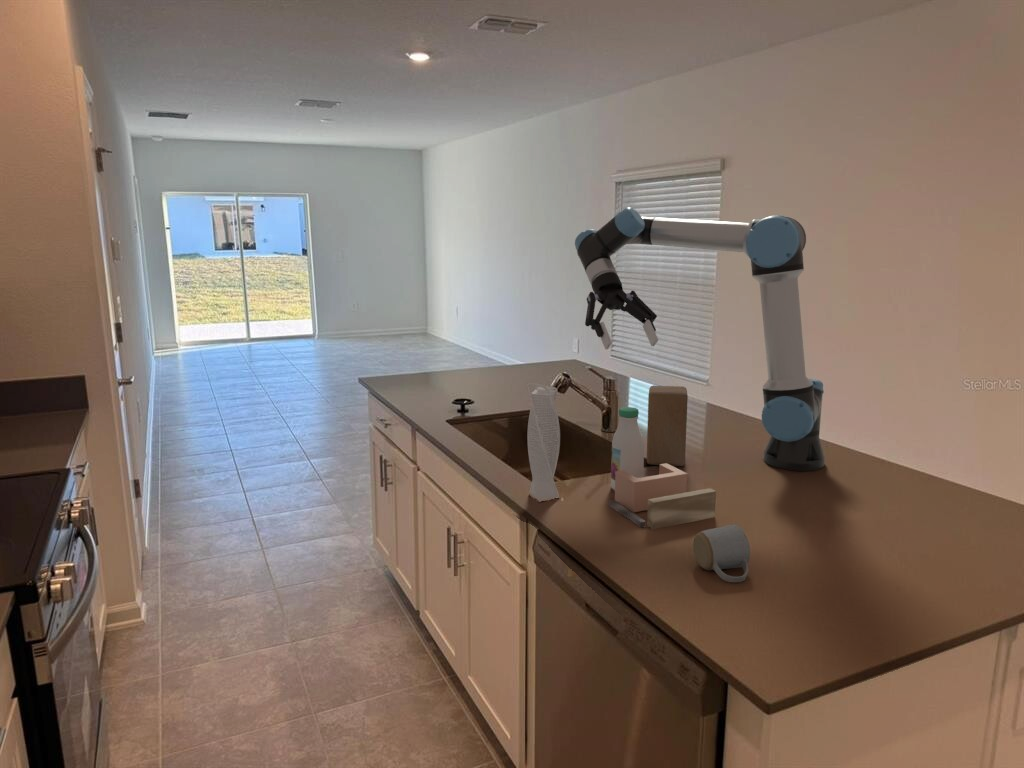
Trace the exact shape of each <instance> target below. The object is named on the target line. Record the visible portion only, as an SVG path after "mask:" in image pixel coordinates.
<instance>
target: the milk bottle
mask: <svg viewBox="0 0 1024 768" xmlns="http://www.w3.org/2000/svg"><path fill="white" fill-rule="evenodd" d="M618 418H619V422H618V426H617V428H616V430H615V432H614V435H613V438H612V442H611V461H610V462H611V465H610V467H611V468H610V487H611V489H612V490H613V491H615V471H621V470H623V471H625V472H627V473H629V474H630V475H632V476H634V477H636V478H642V477H644V472H645V471H644V470H645V469H644V465H645V464H644V463H645V462H644V461H645V443H644V442H645V441H644V437H643V435H642V432H641V429H640V426H639V423H638V419H639V409H638V408H636V407H632V406H631V407H630V406H625V407H620V408H619V409H618Z"/></svg>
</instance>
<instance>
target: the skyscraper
mask: <svg viewBox="0 0 1024 768" xmlns="http://www.w3.org/2000/svg"><path fill="white" fill-rule="evenodd" d="M530 386H535V387H534V390H533V391H532V392H531V389H530ZM526 388H527V391H528V394H529V399H530V403H531V405H530V410H529V416H528V423H527V435H526V436H527V437H526V438H527V452H528V462H529V467H530V471H531V472H530V473H531V475H532V480H531V484H530V488H529V492H528V494H529V493H531V494H533V495H534V496H535V497H536V498H538V500H540V499H547V498H555V497H559V498H560V495H559V492H558V488H557V485H556V482H555V479H554V478H555V477H554V476H555V472H556V468H557V464H558V461H559V460H558V459H559V454H560V448H561V447H560V446H561V429H560V428H561V427H560V422H559V415H558V411H557V407H556V403H555V401H556V398H557V394H558V388H557V387H555V386H550V385H543V384H540V383H536V382H529V383H527V384H526Z"/></svg>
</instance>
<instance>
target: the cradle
mask: <svg viewBox="0 0 1024 768" xmlns="http://www.w3.org/2000/svg"><path fill="white" fill-rule="evenodd" d="M658 466H659V467H658V468H659V470H658V473H659V474H656V475H648V476H643V477H642V478H636V477H634V476H632V475H630V474H629V473H627V472H625V471H623V470H621V471H615V490H614V501H616V502H617V503H619V504H620V505H622V506H624V507H625V508H627V509H628V510H630V511H631V512H633V513H638V512H642V511H648V499H653V498H658V497H664V496H669V495H675V494H681V493H686V492H688V473H687V472H685V471H684V470H681V469H679V468H677V467H676V466H671V465H669V464H667V463H665V464H660V465H658Z"/></svg>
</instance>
